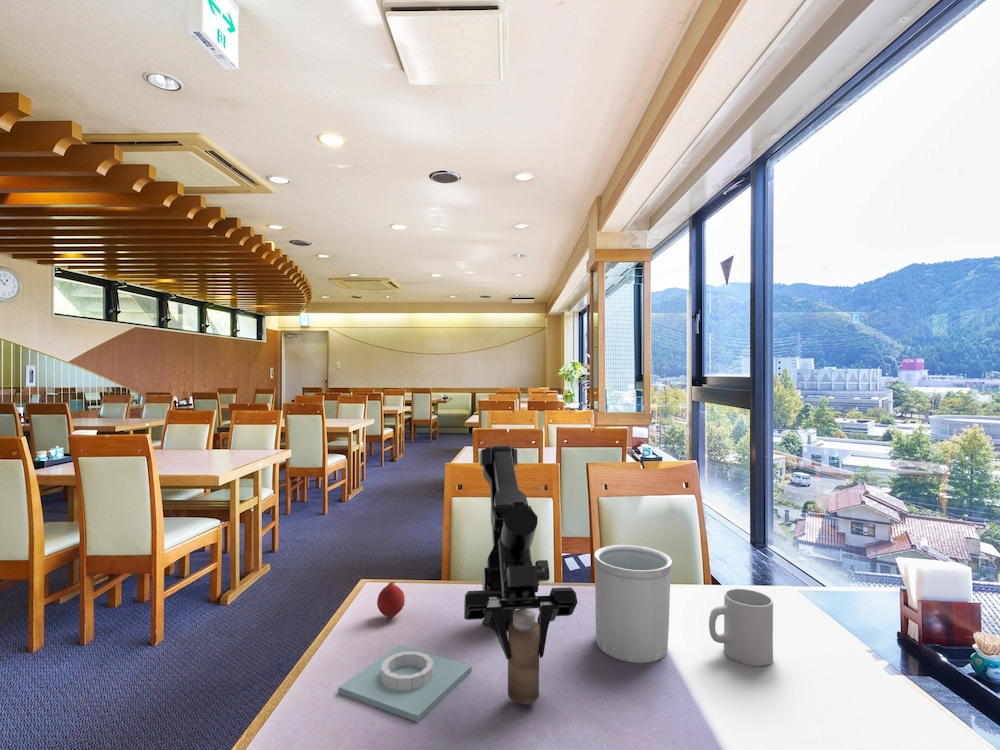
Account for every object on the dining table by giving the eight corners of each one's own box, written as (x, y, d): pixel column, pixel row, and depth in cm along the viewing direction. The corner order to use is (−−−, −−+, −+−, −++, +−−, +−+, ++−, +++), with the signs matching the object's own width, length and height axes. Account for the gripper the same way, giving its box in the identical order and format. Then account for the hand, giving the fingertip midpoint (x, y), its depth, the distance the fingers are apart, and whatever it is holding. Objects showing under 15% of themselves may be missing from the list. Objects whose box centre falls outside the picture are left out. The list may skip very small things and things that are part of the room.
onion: (398, 625, 113) (398, 587, 113) (372, 622, 114) (373, 585, 114) (408, 613, 118) (408, 577, 119) (383, 611, 120) (384, 575, 120)
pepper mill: (515, 682, 90) (516, 604, 90) (543, 690, 88) (544, 611, 88) (502, 698, 85) (503, 616, 85) (531, 707, 83) (532, 623, 83)
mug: (755, 642, 107) (755, 587, 107) (783, 665, 99) (783, 605, 99) (698, 645, 106) (698, 589, 106) (721, 669, 97) (722, 608, 97)
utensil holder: (682, 666, 98) (683, 570, 98) (601, 665, 98) (602, 569, 98) (658, 628, 113) (658, 544, 113) (587, 627, 113) (588, 544, 113)
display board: (398, 649, 103) (399, 634, 103) (471, 671, 95) (471, 654, 95) (338, 693, 89) (338, 674, 89) (417, 722, 81) (418, 702, 81)
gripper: (465, 543, 89) (468, 642, 78) (575, 540, 91) (593, 636, 80) (462, 573, 97) (465, 667, 86) (564, 569, 99) (578, 661, 88)
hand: (525, 657), depth 85 cm, fingers closed on pepper mill, 5 cm apart
